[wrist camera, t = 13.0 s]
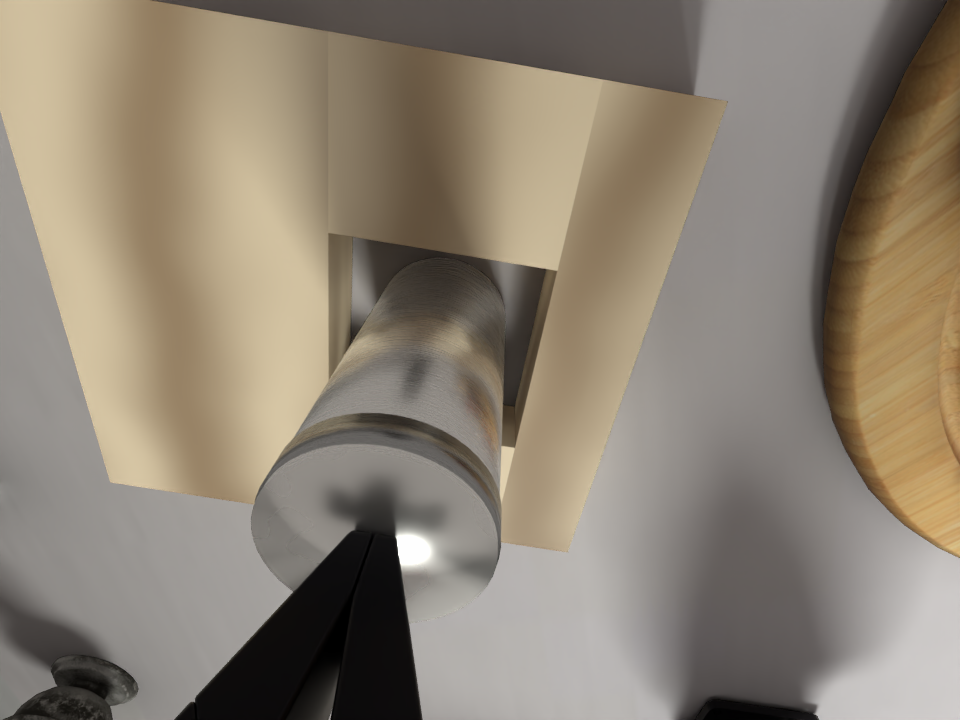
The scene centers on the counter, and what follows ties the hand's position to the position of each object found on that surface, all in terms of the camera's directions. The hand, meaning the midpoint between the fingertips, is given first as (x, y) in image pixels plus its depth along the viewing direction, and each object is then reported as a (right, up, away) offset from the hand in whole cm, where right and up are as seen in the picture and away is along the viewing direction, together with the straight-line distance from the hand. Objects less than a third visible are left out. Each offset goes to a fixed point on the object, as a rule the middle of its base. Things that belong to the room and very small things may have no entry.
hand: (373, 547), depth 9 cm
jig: (-2, +5, +9) cm, 10 cm away
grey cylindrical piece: (+1, +5, +9) cm, 10 cm away
